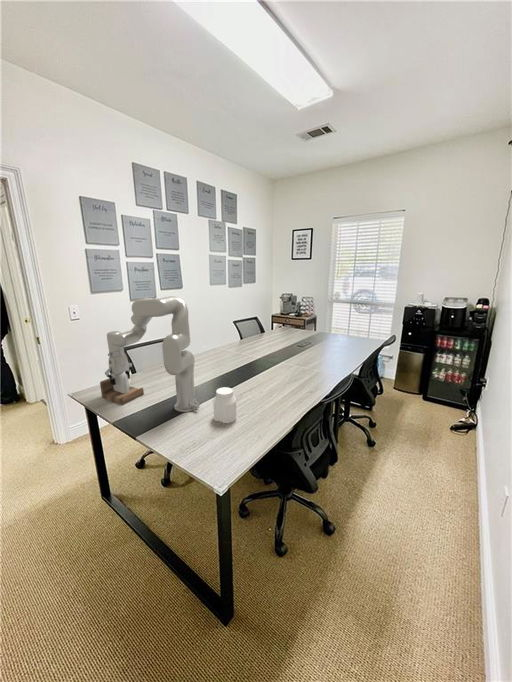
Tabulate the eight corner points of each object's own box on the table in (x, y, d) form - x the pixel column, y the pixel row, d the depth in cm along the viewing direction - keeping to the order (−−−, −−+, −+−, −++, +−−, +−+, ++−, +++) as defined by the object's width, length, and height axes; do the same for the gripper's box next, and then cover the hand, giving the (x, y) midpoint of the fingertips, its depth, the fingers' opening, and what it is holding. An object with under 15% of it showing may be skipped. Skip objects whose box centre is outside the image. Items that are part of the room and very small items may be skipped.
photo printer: (130, 391, 163) (128, 371, 160) (124, 394, 159) (121, 374, 156) (119, 388, 168) (116, 368, 164) (112, 390, 164) (109, 371, 161)
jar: (210, 419, 140) (209, 392, 136) (221, 410, 149) (220, 384, 145) (229, 425, 135) (229, 397, 131) (239, 416, 143) (239, 389, 140)
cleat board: (143, 394, 166) (142, 379, 163) (123, 404, 154) (121, 388, 151) (122, 388, 174) (120, 373, 171) (102, 397, 162) (99, 381, 159)
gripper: (107, 358, 148) (112, 388, 153) (134, 349, 163) (137, 377, 168) (98, 356, 151) (102, 385, 156) (125, 348, 166) (128, 375, 171)
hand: (120, 381), depth 162 cm, fingers open, 9 cm apart
